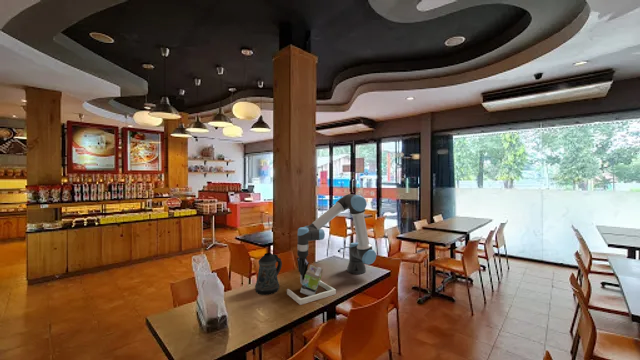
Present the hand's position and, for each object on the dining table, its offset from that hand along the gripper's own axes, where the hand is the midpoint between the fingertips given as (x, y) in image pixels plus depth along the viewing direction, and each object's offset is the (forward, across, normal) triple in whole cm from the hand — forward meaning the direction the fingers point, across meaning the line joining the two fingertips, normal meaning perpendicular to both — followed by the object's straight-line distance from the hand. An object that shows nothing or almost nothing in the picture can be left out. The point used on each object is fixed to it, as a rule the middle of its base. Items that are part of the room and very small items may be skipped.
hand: (302, 283), depth 189 cm
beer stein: (+4, -12, -20) cm, 24 cm away
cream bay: (+3, +11, +1) cm, 11 cm away
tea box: (+2, +8, +1) cm, 8 cm away
